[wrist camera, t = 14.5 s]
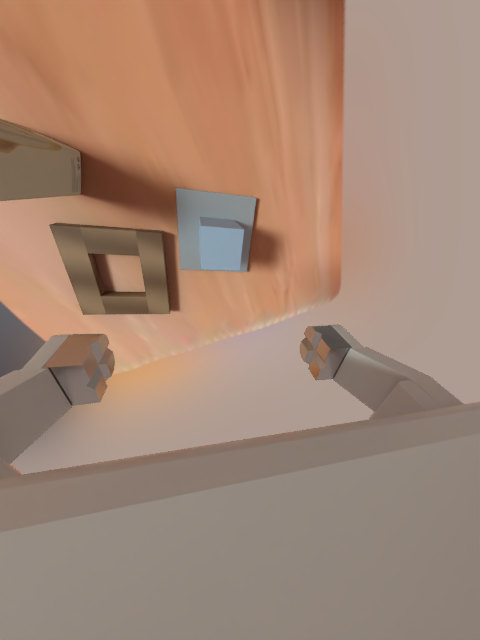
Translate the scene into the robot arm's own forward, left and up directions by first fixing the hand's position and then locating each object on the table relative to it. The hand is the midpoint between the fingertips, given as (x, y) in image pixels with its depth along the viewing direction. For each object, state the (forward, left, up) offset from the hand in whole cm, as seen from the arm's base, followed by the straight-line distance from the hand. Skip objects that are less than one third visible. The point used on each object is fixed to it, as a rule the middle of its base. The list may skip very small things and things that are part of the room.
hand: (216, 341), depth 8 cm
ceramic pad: (0, +2, -24) cm, 24 cm away
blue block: (0, +2, -23) cm, 23 cm away
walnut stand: (+6, -11, -24) cm, 27 cm away
